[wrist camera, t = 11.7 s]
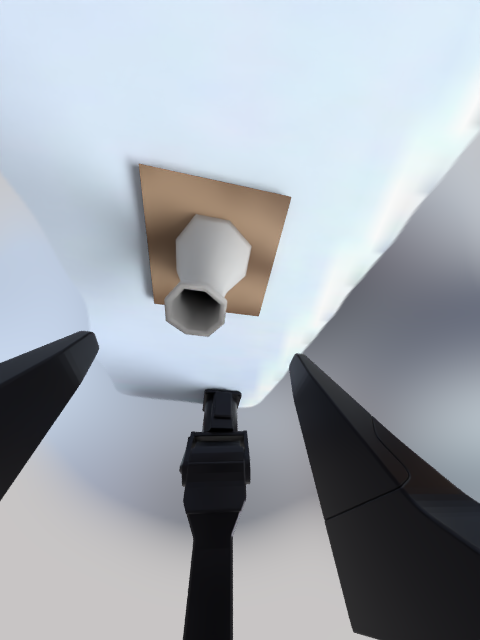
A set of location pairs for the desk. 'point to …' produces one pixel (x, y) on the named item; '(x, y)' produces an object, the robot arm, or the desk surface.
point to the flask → (205, 274)
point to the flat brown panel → (219, 202)
